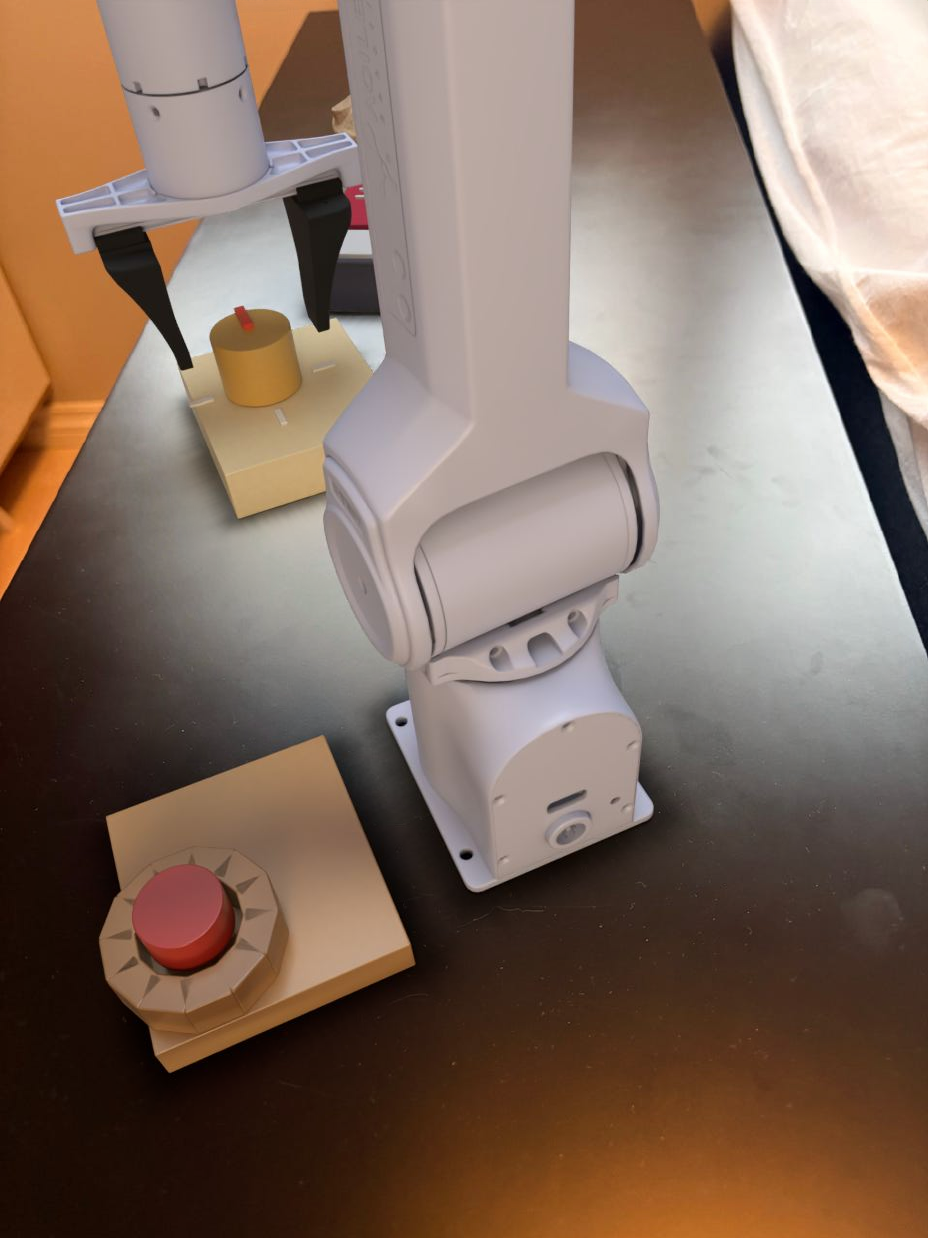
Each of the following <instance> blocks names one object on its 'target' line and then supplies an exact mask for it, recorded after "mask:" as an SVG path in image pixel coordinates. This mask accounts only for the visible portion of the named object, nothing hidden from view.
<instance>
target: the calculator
mask: <svg viewBox="0 0 928 1238" xmlns="http://www.w3.org/2000/svg"><path fill="white" fill-rule="evenodd" d="M343 193H344V194H345V195H346V196H347V198H348V199H349V200H350V203H351V209H352V218H351V225H350V227H349V230H348V232H347V234H346V236H345V239H344V242H343V245H342V247H341V250H340V254H339V257H338V261H337V265H336V269H335V274H334V279H333V286H332V293H331V303H330V312H336V313H337V312H340V313H341V312H345V313H346V312H348V313H353V312H354V313H380V307H379V299H378V292H377V285H376V278H375V270H374V263H373V256H372V249H371V241H370V234H369V227H368V220H367V212H366V205H365V198H364V191H363V184H361V185H357V186H353V187H349V188H345V190H344V191H343Z"/></svg>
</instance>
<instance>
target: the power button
mask: <svg viewBox="0 0 928 1238" xmlns="http://www.w3.org/2000/svg"><path fill="white" fill-rule="evenodd" d="M235 922H236V920H235V912H234V909H233V906H232V904H231V902H230V900H229V898H228V896H227V894H226V892H225V890H224V889H223V887H222V885H221V883H220V881H219V879H218V878H217V877H216V875H215V874H214V873H212V872H211V871H210V870H208V869H206V868H204V867H202V866H198V865H192V864H184V865H177V866H173V867H170V868H168V869H165V870H163V871H161V872H160V873H158V874H157V875H155V876H154V877H152V878H151V879H150V880H149V881H148V882H147V883H146V884H145V885H144V886H143V888H142V889H141V890H140V892H139V894H138V895H137V897H136V900H135V902H134V905H133V910H132V924H133V927H134V930H135V932H136V934H137V935H138V937H139V938H140V940H141V941H142V943H143V944H144V946H145V947H146V949H147V950H148V951H149V953H150V954H151V956H152V957H153V959H154V960H155V961H156V962H157V963H158V964H159V965H161V966H162V967H164V968H166V969H169V970H173V971H191V970H196V969H198V968H201V967H203V966H205V965H207V964H209V963H211V962H212V961H213V960H215V959H216V958H217V957H218V956H219V955H220V954H221V953H222V952H223V951H224V950H225V949H226V947H227V946H228V944H229V942H230V940H231V938H232V936H233V933H234V929H235Z"/></svg>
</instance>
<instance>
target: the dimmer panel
mask: <svg viewBox="0 0 928 1238" xmlns="http://www.w3.org/2000/svg"><path fill="white" fill-rule="evenodd" d="M291 330H292V335H293V339H294V344H295V349H296V353H297V358H298V362H299V367H300V372H301V376H302V381H301V385H300V387H299V388H298V390H297V391H296V392H295V393H294V394H292V395H291V396H290V397H288V398H286V399H285V400H283V401H280V402H278V403H275V404H271V405H267V406H259V407H250V406H243V405H239V404H236V403H234V402H232V401H231V400H230V399H229V398H228V397H227V396H226V394H225V391H224V388H223V384H222V381H221V377H220V374H219V370H218V367H217V364H216V360H215V357H214V353H213V351H211V352H207V353H204V354H200V355H197V356H194V357H191V359H192V363H193V367H194V368H191V369H188V370H184V371H182V370H180V368H179V366H178V363H177V362H176V365H177V369H178V371H179V375H180V378H181V381H182V384H183V387H184V391H185V393H186V396H187V399H188V403H187V404H188V406H189V408H190V409H191V410H192V412H193V415H194V417H195V420H196V422H197V424H198V427H199V429H200V432H201V434H202V436H203V439H204V441H205V444H206V446H207V448H208V450H209V454H210V455H211V458H212V460H213V463H214V465H215V468H216V470H217V472H218V475H219V477H220V480H221V482H222V485H223V487H224V489H225V491H226V494H227V496H228V499H229V500H230V501H229V502H230V503H231V505H232V508H233V510H234V513H235V515H236V517H237V519H238V520H240V519H243V518H246V517H249V516H252V515H255V514H259V513H261V512H264V511H265V512H266V511H268V510H271V509H274V508H277V507H281V506H283V505H287V504H289V503H290V504H291V503H292V502H297V501H299V500H303V499H305V498H309V497H312V496H316V495H318V494H321V493H324V492H325V493H326V487H325V479H324V473H323V463H324V461H325V459H326V458H325V453H324V448H323V444H322V442H323V440H324V438H325V436H326V434H327V433H328V431H329V430H330V429H331V427H332V426H333V425H334V423H335V422H336V421H337V419H338V418H339V417H340V415H341V414H342V413H343V411H344V410H345V409H346V408H347V406H348V405H349V404H350V403H351V401H352V400H353V399H354V398H355V396H356V395H357V394H358V393H359V391H360V390H361V389H362V388H363V387H364V385H365V384H366V383H367V382H368V380H369V379H370V378H371V377H372V375H373V374H374V373H375V372H374V371H373V369H372V368H371V367H370V365H369V364H368V362H367V361H366V360H365V358H364V357H363V355H362V353H361V352H360V351H359V349H358V347H357V346H356V345H355V343H354V342H353V340H352V339H351V337H350V335H349V334H348V333H347V331H346V330H345V328H344V327H343V326H342V324H341V323H340V321H339V319H338V318H337V317H334V318H330V329H329V330H327V331H323V332H319V333H318V331H317V329H316V328H315V326H314V325H313V323H312V324H308V325H304V326H301V327H298V328H294V329H291Z"/></svg>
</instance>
